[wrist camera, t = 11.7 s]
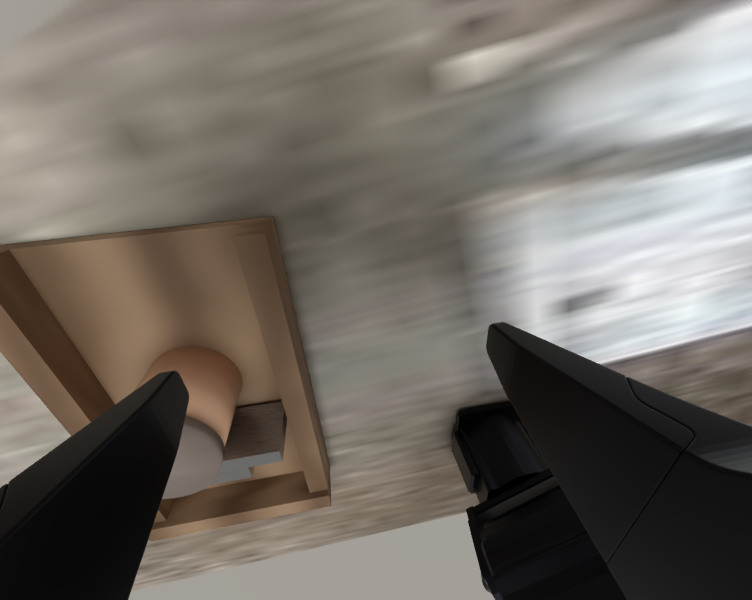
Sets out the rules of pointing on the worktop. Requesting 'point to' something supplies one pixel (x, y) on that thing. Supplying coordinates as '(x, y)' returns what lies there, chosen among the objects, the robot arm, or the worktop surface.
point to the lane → (169, 344)
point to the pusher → (253, 441)
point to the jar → (200, 414)
